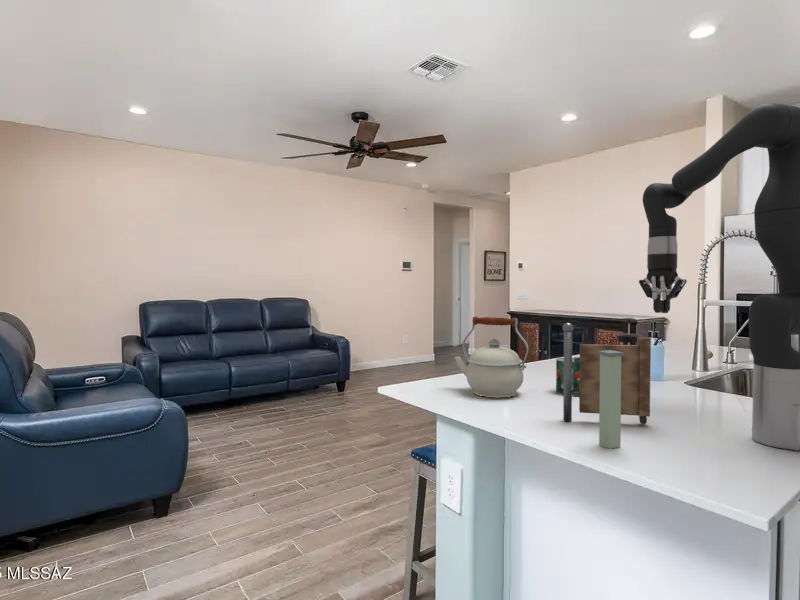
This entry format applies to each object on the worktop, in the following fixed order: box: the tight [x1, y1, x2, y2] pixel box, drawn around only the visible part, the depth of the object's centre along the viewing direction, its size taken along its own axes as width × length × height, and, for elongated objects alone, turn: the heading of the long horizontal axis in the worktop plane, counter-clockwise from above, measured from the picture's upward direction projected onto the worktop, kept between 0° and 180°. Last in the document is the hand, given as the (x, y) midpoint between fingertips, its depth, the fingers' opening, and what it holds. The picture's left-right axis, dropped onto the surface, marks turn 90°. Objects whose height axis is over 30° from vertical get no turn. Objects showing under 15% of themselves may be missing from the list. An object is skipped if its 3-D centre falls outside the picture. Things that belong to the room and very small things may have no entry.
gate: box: [573, 336, 652, 425], centre depth 115 cm, size 18×3×22 cm, turn 78°
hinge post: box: [562, 322, 574, 423], centre depth 117 cm, size 3×3×26 cm
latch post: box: [598, 350, 624, 450], centre depth 99 cm, size 4×4×21 cm
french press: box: [614, 317, 644, 345], centre depth 163 cm, size 12×9×23 cm
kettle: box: [454, 316, 530, 398], centre depth 148 cm, size 25×18×25 cm
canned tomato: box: [555, 357, 580, 397], centre depth 147 cm, size 8×8×11 cm
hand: (661, 312), depth 132 cm, fingers closed
